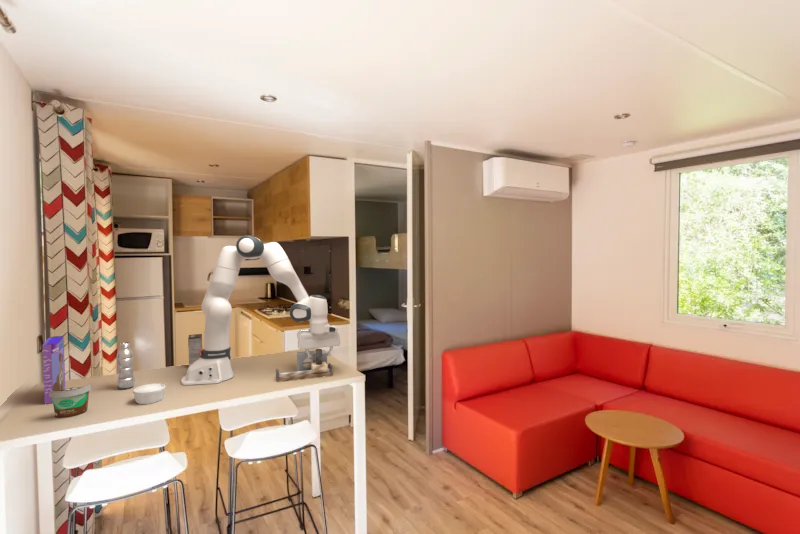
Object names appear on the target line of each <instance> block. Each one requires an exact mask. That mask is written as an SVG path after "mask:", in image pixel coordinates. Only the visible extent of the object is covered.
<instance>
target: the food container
mask: <svg viewBox="0 0 800 534" xmlns="http://www.w3.org/2000/svg"><path fill="white" fill-rule="evenodd" d="M91 390H92V386H91V384H90V383H88V385H86V386H79V387H70V388H68V387H67V388H65V389H64V390H60V391H52V390H51V391H50V394H49V396H50V397H52V401H53V403H52V405H53V410H54V411H53V412H54V416H55V418H56V419H57V418H58V419H67V418H72V417H76V416H80V415H82V414H84V413H86V412H87V411H88V406H89V396H90V395H89V394H90V391H91Z"/></svg>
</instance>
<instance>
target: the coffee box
mask: <svg viewBox="0 0 800 534" xmlns="http://www.w3.org/2000/svg"><path fill="white" fill-rule="evenodd" d="M187 338H188V342H187V343H188V344H187V345H188V367H189V366H190V365H191V364H193V363H194V362H195V361H196V360H198V359H199V358H200V352H199V351H200V349H203V335H202V333H198V334H197V333H193V334H189V335H188V337H187Z"/></svg>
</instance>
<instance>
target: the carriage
mask: <svg viewBox="0 0 800 534" xmlns="http://www.w3.org/2000/svg"><path fill="white" fill-rule="evenodd" d="M315 350H316V363H311V370H312V373H321V372H327V368H328V363H327V364H326V362H322V350H323V348H315Z"/></svg>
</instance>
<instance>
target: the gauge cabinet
mask: <svg viewBox="0 0 800 534" xmlns="http://www.w3.org/2000/svg"><path fill="white" fill-rule="evenodd" d="M308 352H309V353H311V358H308V354H307V352H306V350H305V351H304V350H303V351H296V371H297V370H298V371H306V370H311V363H316V349H314V350H309V351H308ZM327 354H328V353H327V351H326V350H325V349H322V362H326V364H327V365H328V355H327Z"/></svg>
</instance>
